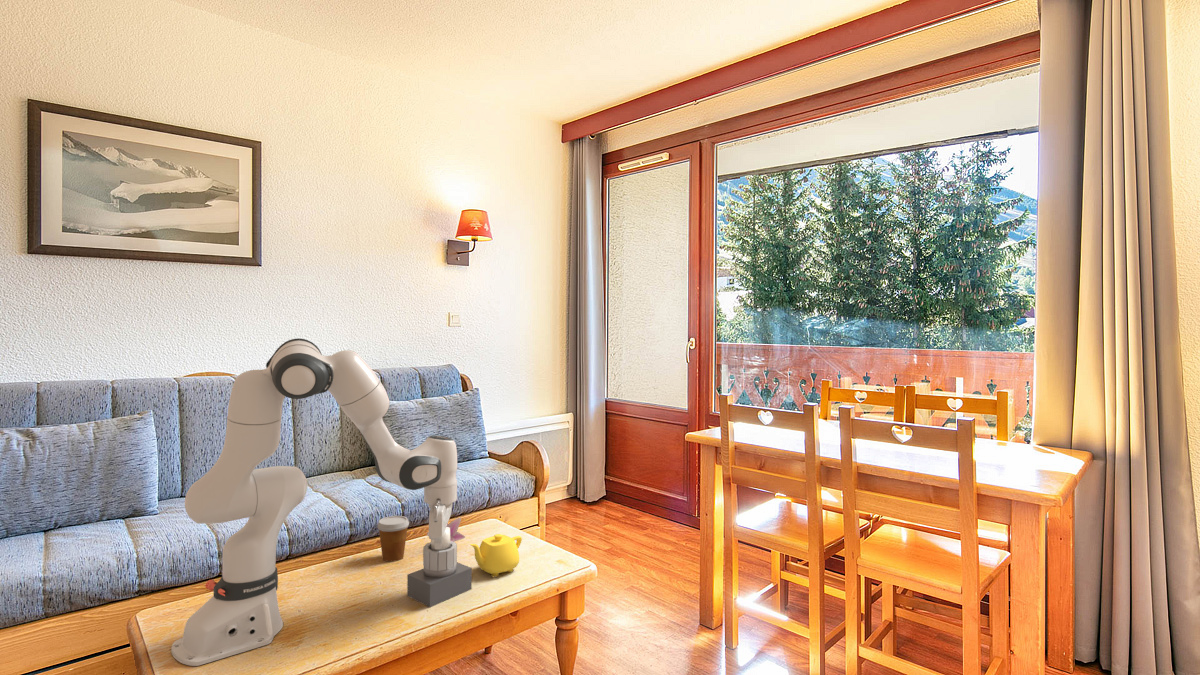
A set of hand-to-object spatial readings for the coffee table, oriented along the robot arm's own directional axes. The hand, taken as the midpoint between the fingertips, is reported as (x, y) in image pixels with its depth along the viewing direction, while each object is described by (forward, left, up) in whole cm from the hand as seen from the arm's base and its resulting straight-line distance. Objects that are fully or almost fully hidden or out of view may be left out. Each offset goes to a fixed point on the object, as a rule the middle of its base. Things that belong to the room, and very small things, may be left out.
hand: (440, 543), depth 168 cm
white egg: (0, 0, -1) cm, 1 cm away
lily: (+21, +24, -14) cm, 35 cm away
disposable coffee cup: (+6, +31, -14) cm, 35 cm away
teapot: (+20, -1, -14) cm, 24 cm away
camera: (0, 0, -14) cm, 14 cm away
